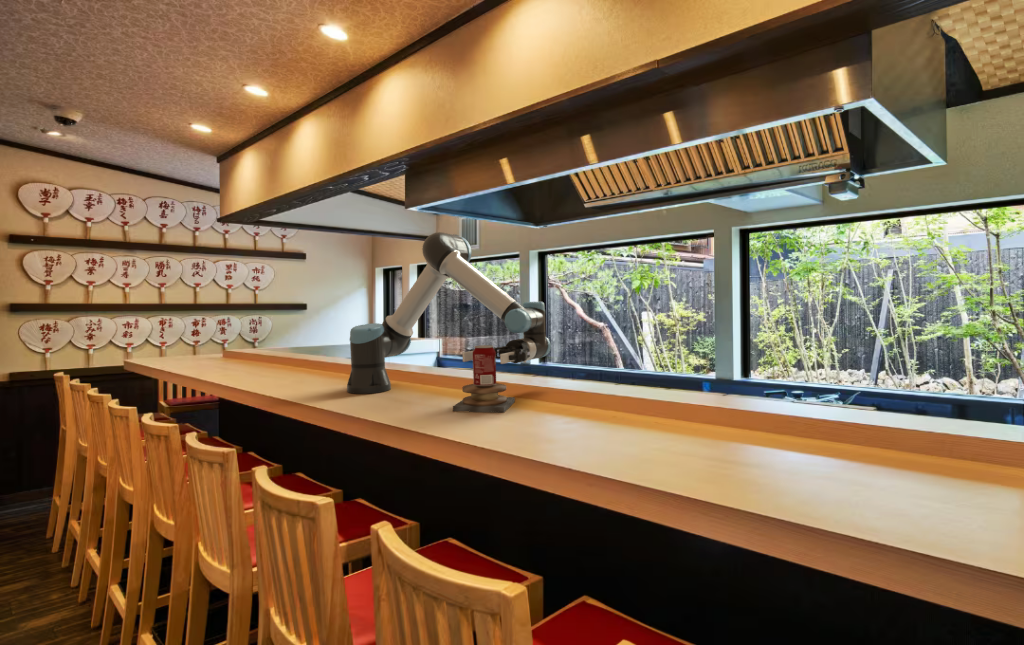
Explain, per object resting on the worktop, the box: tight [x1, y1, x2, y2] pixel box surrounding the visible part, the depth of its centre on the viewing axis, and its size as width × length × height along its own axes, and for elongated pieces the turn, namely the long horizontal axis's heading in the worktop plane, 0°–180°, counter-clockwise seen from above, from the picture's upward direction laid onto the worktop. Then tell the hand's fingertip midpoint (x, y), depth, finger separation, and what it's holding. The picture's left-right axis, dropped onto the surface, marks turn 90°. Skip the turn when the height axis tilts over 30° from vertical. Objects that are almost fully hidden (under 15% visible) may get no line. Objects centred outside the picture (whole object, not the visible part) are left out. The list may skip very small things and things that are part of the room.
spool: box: [452, 382, 516, 414], centre depth 167 cm, size 15×15×6 cm
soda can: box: [472, 344, 497, 388], centre depth 166 cm, size 7×7×12 cm
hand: (482, 358), depth 165 cm, fingers open, 13 cm apart
